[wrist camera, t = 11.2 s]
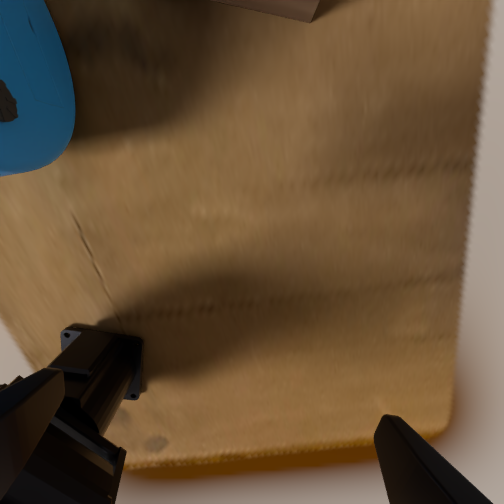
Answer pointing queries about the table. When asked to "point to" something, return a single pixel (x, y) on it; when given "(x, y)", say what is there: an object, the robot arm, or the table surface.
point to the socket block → (279, 7)
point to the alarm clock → (32, 88)
